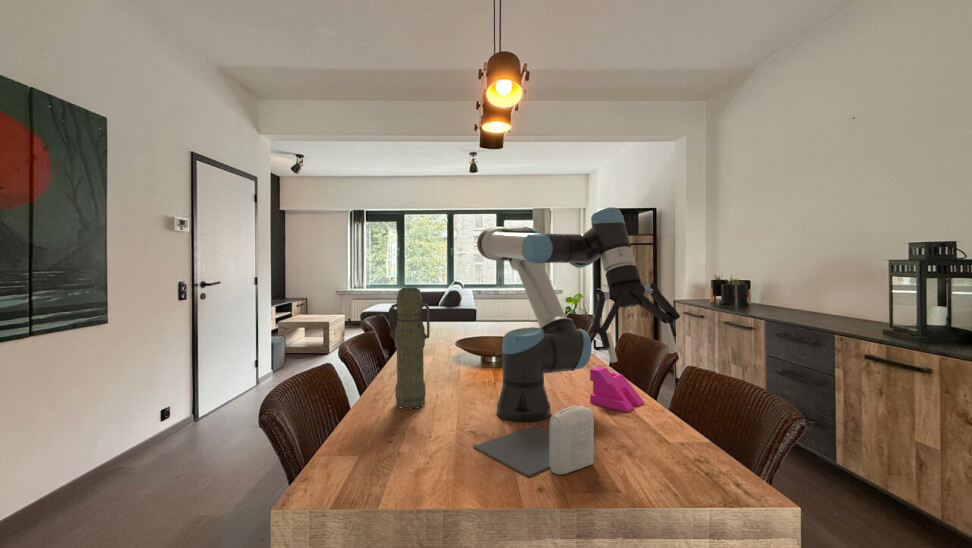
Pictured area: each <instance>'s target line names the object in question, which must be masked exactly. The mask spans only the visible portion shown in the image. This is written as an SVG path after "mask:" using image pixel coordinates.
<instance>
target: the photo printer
mask: <svg viewBox="0 0 972 548" xmlns="http://www.w3.org/2000/svg"><path fill="white" fill-rule="evenodd" d="M593 413H594V412H592V410H591V409H590V408H588V407H586V406H582V405H573V406H569V407H565V408H563V409H560V410H558V411H557V412H555V413H554V414H552V416H551V417H550V419H549V422H548V423H549V425H548V426H549V427H548V430H549V466H550V468H549V469H550V471H551V473H553V474H555V475H560V476H561V475H565V474H569V473H573V472H575V471H578V470H581V469H583V468H586V467H588V466H591V465H593V464H594V460H595V459H594V458H595V457H594V452H595V448H594V446H595V445H594V443H595V442H594V439H595V436H594V435H595V434H594V429H595V427H594V426H595V423H594V422H595V417H594V414H593Z"/></svg>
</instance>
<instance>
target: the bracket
mask: <svg viewBox="0 0 972 548" xmlns="http://www.w3.org/2000/svg"><path fill="white" fill-rule="evenodd" d="M589 373H590V374H589V380H590V382H592V393H591V394H590V395H589V403H590V404H593V405H598V406H602V407H604V408H605V407H606V408H609V409H613V410H618V411H620V412H621V411H622V412H625V413H629V412H632V411H633V410H634V406H636V407H640V406H642V405H643V404H644V403H645V401H644V399H643V398H642V397H641V396H640V395H639V393H638V392H637V391H636V390H635V388H634V387H633V386H632V385H631V383H630V382H629V380H627V378H626V377H625V376H624V375H623V373H617V372H616V373H615V372H612V371H609V369H608V368H607V367H605V366H597V367H592V368H590V369H589Z"/></svg>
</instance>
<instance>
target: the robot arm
mask: <svg viewBox="0 0 972 548" xmlns="http://www.w3.org/2000/svg"><path fill="white" fill-rule="evenodd" d="M590 220H591V221H590V222H591V226H592V227H591V228H590V229H588V230H586V231H585V232H584V233H580V234H578V233H577V234H575V233H545V232H544V233H543V232H541V231H540V230H539V229H537V228H533V227H528V226H523V227H516V226H515V227H512V226H493V227H492V226H491V227H489V228H487V229H484V230H483V231H481V233H480V234H479V235H478V237H477V240H476V241H477V242H476V246H477V250H478V252H479V254H480V255H482V256H483V257H484V258H485V259H488V260H491V261H501V262H502V261H503V262H505V261H507V262H509V265H510V267H511V268H512V270H513V271H516V272H517V273H518V275H519V278H520V280H521V283H522V286H523V288H524V291H525V293H526V296H527V298H528V301H529V303H530V306H531V308H532V311H533V313H534V315H535V319H536V321H537V324H538V326H539V327H522V328H517V329H512V330H510V331H508V332H506V333H505V334H504V335H503V337H502V347H501V353H502V354H501V355H502V357H501V358H502V387H501V391H500V395H499V399H498V401H497V402H496V414H497V415H498V417H500V418H503V419H506V420H508V421H514V422H521V423H523V422H537V421H542V420H545V419H547V418H548V417H550V415H551V409H552V408H551V404H550V401H549V399H548V394H547V391H546V387H545V374H549V373H550V374H551V373H559V372H569V371H570V372H574V371H575V370H581V369H583V368H584V367H586V366H587V365H588V364H589V361H590V359H591V357H592V356H591V354H592V349H593V347H592V345H593V344H592V341H591V338H590V335H589V333H588V332H587V331H586V330H584V329H583V328H578V329H577V327H576V325H575V322H574V320H573V319H572V318H570V317H566V314H565V312H564V309H563V308H562V305H561V303H560V301H559V298H558V297H557V294H556V291H555V289H554V287H553V285H552V282H551V281H550V278H549V276H548V273H547V272H546V269H545V266H544V264H552V263H553V264H554V263H555V264H556V263H561V264H562V263H564V264H566V263H567V264H570V266H573V267H575V268H577V269H579V268H580V269H581V268H584V267H587V266H590V265H591V264H593V263H594V262H595V261H597V260H598V259H599V258H600V259H601V260H600V261H601V264H602V268H603V271H604V272H605V279H606V283H607V286H608V291H604V290H599V291H598V293H597V294H596V301H597V304H596V308H595V311H594V316H593V320H592V324H591V328H590V333H591V334H597V335H599V336H600V341H601V344H602V348H603V349H607V351H608V355H609V359H610V363H611V364H612V363H616V362H618V356H617V353H616V349H615V346H614V341H613V336H612V333H611V332H610V331H609V332H608V329H609V328H610V325H612V324H611V323H612V321H613V320H614V318H615V317H616V314H617V312H618V310H620V308H622V309H626V308H628V307H633V308H634V307H636V306H639V307H640V308H643V309H645V310H647V312H649V313H650V314H651V315H653V317H655V318H657V319H658V320H659V321H661V322H662V323H663V324H662V325H661V328H662V332H663V335H664V339H665V341H666V346H667V348H668V352H669V353H668V354H675V353H677V352H678V349H677V345H676V341H675V339H674V338H676V337H677V331H676V328H675V325H674V323H675V321H676V320H677V321H678V319H680V317H681V315H680V313H679V312H678V311H677V309H676V308H674V307H673V305H672V304H671V303H670V302H669V300H667V298H666V297H664V295H663V294H662V293H661V291H659V289H658V286H657V284H656V283H655V282H651V283H650V284H648V285H643V284H642V281H641V277H640V273H639V269H638V266H636V259H635V255H634V252H633V248H632V245H631V241H630V237H629V234H628V230H627V227H626V221H625V219H624V216H623V214H622V211H621V210H620V209H619V208H617V207H610V206H609V207H603V208H600V209H598V210H596V211H595V212H593V214H592V215H591V219H590ZM645 292H646V293H647V294H648V295H650V297H651V298H652V299H653V301H655V302H656V304H657V305H655V304H654V303H653V302H652V301H650V299H649V298H648V297H646V296H645V295H644V294H645ZM608 298H609V299H610V300H611V301H613V302H614V303H613V304H612V306H611V307H610V310H609V312H608V314H607V316H606V318H605V320H604V322H603V323H602V325H601V326H600V323H601V320H602V315H603V312H604V308H605V303H606V301H607V300H608Z"/></svg>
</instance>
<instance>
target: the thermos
mask: <svg viewBox="0 0 972 548" xmlns="http://www.w3.org/2000/svg"><path fill="white" fill-rule="evenodd" d="M395 307H396V316H397V319H396V325H395V323H394V322H395V320H394V319H395V317H394V315H395V313H394V312H395V311H394V309H395ZM424 307H425V309H426V327H425V325H424V323H423V308H424ZM388 314H389V315H388V316H389V336H390V338H392V340H394V348H395V349H396V378H397V379H396V384H395V388H394V389H395V390H394V391H395V392H394V393H395V394H394V395H395V399H396V402H395V406H396V405H397V406H398V407H402V408H416V409H418V408H417V407H420V406H422V405H424V404H425V405H426V394H427V393H426V388H427V387H426V381H425V378H424V376H425V375H424V370H425V369H424V349H425V345H426V342H425V341H426V340H427V339H430V334H431V333H430V329H431V328H430V307H429V305H428V304H427V303H424V302H423V296H422V292H421V290H420V288H418V287H401V288H400V289H399V290H398V293H397V295H396V303H394V304H391V306H390V307H389V313H388ZM394 325H395V326H394ZM425 329H426V331H425ZM425 405H424V406H425ZM397 406H396V407H397ZM398 407H397V408H398ZM422 407H423V406H422ZM420 408H421V407H420Z"/></svg>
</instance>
